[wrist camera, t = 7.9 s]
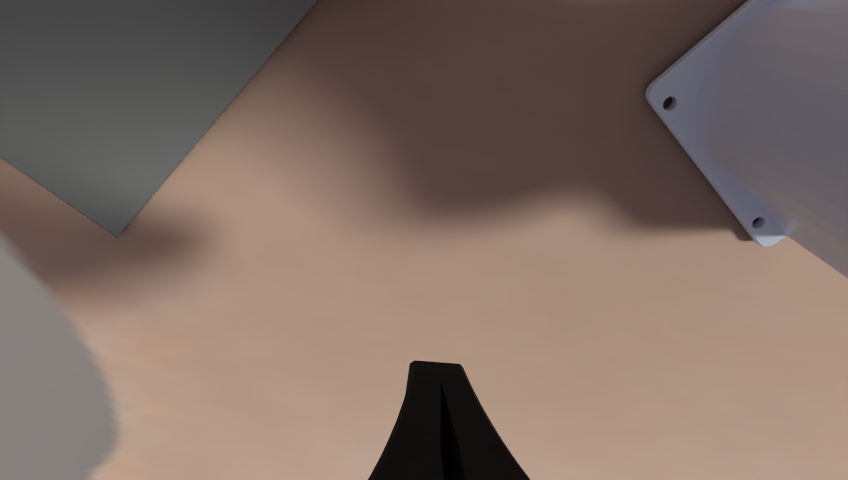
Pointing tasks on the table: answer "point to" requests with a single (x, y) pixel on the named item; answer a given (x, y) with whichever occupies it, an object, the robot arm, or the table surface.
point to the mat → (124, 89)
